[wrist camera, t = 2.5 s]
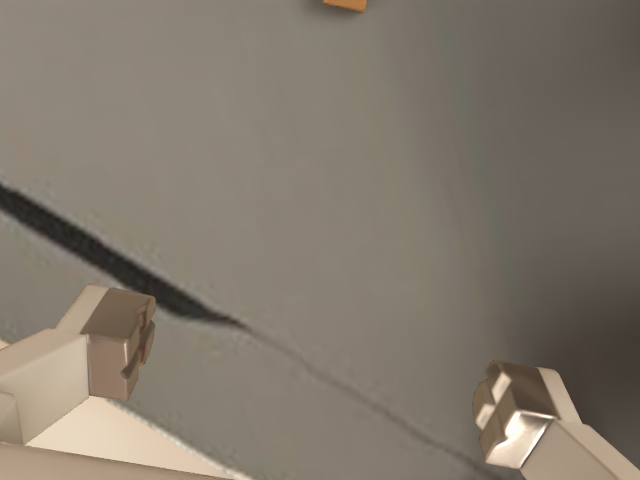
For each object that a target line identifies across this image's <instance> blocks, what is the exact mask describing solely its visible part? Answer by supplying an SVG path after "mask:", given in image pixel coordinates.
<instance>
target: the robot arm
mask: <svg viewBox="0 0 640 480" xmlns="http://www.w3.org/2000/svg"><path fill="white" fill-rule="evenodd" d="M155 301H156V299H155V298H154V296H149V295H145V294H140V293H135V292H130V291H125V290H121V289H116V288H109V287H104V286H100V285H95V284H88V285H86V286H85V287H84V288H83V289H82V291H81V292H80V294H79V295H78V296H77V298H76V299H75V300H74V302H73V303H72V305H71V306H70V307H69V309H68V310H67V311H66V313H65V314H64V316H63V317H62V318H61V320H60V321H59V322H58V324H57V325H56V327H55V328H54V329H49V328H46V329H44V330H42V331H40V332H37V333H35V334H33V335H31V336H29V337H27V338H24V339H22V340H20V341H18V342H16V343H13V344H11V345H9V346H7V347H5V348H3V349H1V350H0V480H232V479H226V478H220V477H214V476H208V475H202V474H195V473H190V472H183V471H177V470H171V469H165V468H159V467H153V466H147V465H141V464H135V463H128V462H122V461H116V460H110V459H104V458H98V457H92V456H86V455H80V454H74V453H68V452H62V451H55V450H49V449H43V448H37V447H31V446H25V444H26V443H28V442H29V441H30V440H32V439H33V438H35V437H36V436H37V435H39V434H40V433H41V432H43V431H44V430H45V429H47V428H48V427H49V426H51V425H52V424H54V423H55V422H56V421H58V420H59V419H61V418H62V417H63V416H65V415H66V414H67V413H69V412H70V411H71V410H73V409H74V408H75V407H77V406H78V405H80V404H81V403H82V402H84V401H85V400H86V399H88V398H89V396H96V397H103V398H110V399H117V400H124V401H128V400H129V397H130V395H131V393H132V391H133V389H134V387H135V385H136V382H137V380H138V374H139V367H141V366H142V365H144V364H145V363H146V360H147V358H148V356H149V353H150V350H151V347H152V343H153V338H154V330H155V324H154V323H153V322H152V320H151V318H152V316H153V314H154V312H155ZM486 374H487V377H488V379H486V380H484V381H483V382H481V383H479V385H478V387H477V389H476V391H475V393H474V398H473V415H474V420H475V423H476V424H477V425H478V426H479V427H480V428H481V429H482V430H483V432H482V434H481V436H480V437H479V440H480V444H481V447H482V451H483V455H484V459H485V463H490V464H495V465H500V466H505V467H510V468H515V469H520V472H521V474H522V475H523V476H524V477H525V479H526V480H640V470H639V469H637V468H636V467H635V466H634V465H633V464H632V463H631V462H630V461H628V460H627V459H626V458H625V457H624V456H623V455H622V454H620V453H619V452H618V451H617V450H616V449H615V448H614V447H613V446H611V445H610V444H609V443H608V442H607V441H606V440H605V439H604V438H602V437H601V436H600V435H599V434H598V433H597V432H596V431H595V430H593V429H592V428H591V427H590V426H589V425H585V424H582V422H581V420H580V418H579V416H578V413H577V411H576V409H575V407H574V405H573V403H572V401H571V399H570V396H569V394H568V392H567V390H566V388H565V386H564V384H563V382H562V380H561V377H560V375H559V374H558V372H556V371H555V370H553V369H547V368H541V367H535V366H534V367H532V366H527V365H522V364H516V363H510V362H505V361H499V360H493V361H492V362H491V363H490V364H489V365H488V367H487V369H486Z"/></svg>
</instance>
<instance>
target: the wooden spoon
mask: <svg viewBox="0 0 640 480" xmlns="http://www.w3.org/2000/svg"><path fill="white" fill-rule="evenodd" d="M323 3H325V4H328V5H333V6H337V7H342V8H347V9H351V10H356V11H361V12H365V8H366V3H367V0H323Z"/></svg>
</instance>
